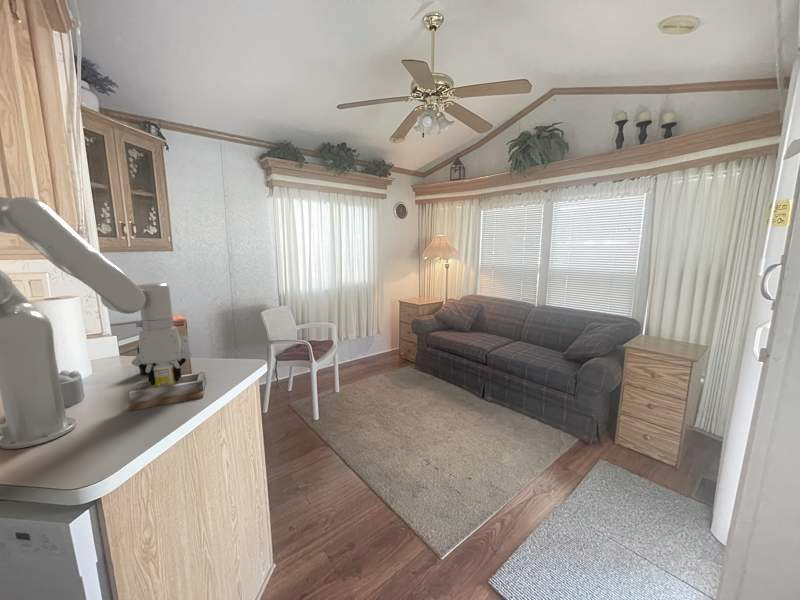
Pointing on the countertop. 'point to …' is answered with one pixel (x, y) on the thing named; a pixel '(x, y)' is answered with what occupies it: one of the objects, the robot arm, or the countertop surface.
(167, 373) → the supplement bottle
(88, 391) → the countertop surface
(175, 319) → the cracker box
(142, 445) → the countertop surface
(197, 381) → the wooden tray
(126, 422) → the countertop surface
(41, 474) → the countertop surface
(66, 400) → the lumpy-topped squat cylinder
